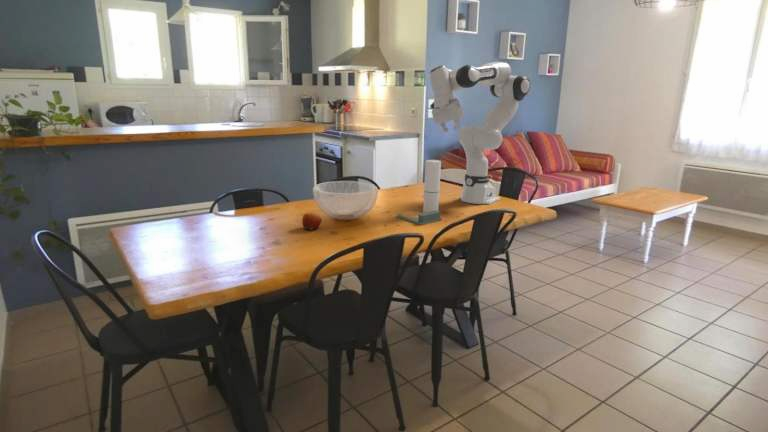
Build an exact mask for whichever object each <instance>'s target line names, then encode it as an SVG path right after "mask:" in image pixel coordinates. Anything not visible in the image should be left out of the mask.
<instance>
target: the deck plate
mask: <svg viewBox="0 0 768 432" xmlns="http://www.w3.org/2000/svg"><path fill="white" fill-rule="evenodd" d="M395 218H397V219H400V220H404V221H408V222H410V223H414V224H416V225H420V226H424V225H427V224H431V223H436V222H439V221H441V220H442V217H441V211H439V210H438V211H431V212H427V213H423V211H418V210H413V211H412V210H411V211H405V212H402V213H399V214H396V215H395Z"/></svg>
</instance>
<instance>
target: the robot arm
mask: <svg viewBox="0 0 768 432" xmlns="http://www.w3.org/2000/svg"><path fill="white" fill-rule="evenodd" d="M511 74H512V69H511V66H510V65H509V64H508V63H507V62H505V61H504V62H503V61H492V62H488V63H485V64H482V65H480V66H479V67H477V66H474V65H471V64H465V65H463V66H461V67H459V68H457V69H455V70H453V69H449V68H447V67H446V65H444V64H443V65H438V66H437V67H435V68H433V69H431V70H430V72H429V82H430V87H431V90H432V91H433V98H434V100H433V102H432V103H431V104H430V106H429V108H430V110H431V116H432V119H433V122H434V124H435V125H439V124H440V127H441V129H442V131H443V132H444V133H446V132H449V129H448V127H447V126H446V123H447V122H451V121H454V122H453V123H454V130H459V131H458V134H457V139H458V143H460V145H461V146H462V148H463V150H464V153H465V158H466V168H465V175H464V183H463V184H462V190H461V195H460V196H459V198H460V200H461V202H464V203H467V204H468V203H469V204H475V205H490V204H493V203H495V202H498V201H499V200H501V198H500V197H499V196H497V195H496V194H497V189H496V188H495V187H494V186H493V185H492V184H491V183H490V180H492V178H493V176H492V175H491V174H488V173H489V159H488V158H487V157H486V155H485V154H484V152H483V150H488V151H489V150H497V149H498V148H499V147H500V146H502V143H503V134H502V131H503V129H504V128H505V126H507V124H508V123H509V122H510V121H511V120H512V119H513V118H514V116H516V115H515V114H516V113H517V111H518V109H519V102H520V101H523V100H524V98H525V97H526V95H528V93H529V91H530V89H531V83H530V79H529V78H528V77H527V76H525V75H511ZM478 83H479V84H480V85H481V86H483V87H486V86H487V87H489V91H490V93H491V95H492V96H493V97H496V98H500V100H499V102H498V103H496V105H494V106H493V107H492V108H491V110H489V112H487V114H486V115H485V117H484V125H482V126H478V125H467V126H466V125H465V126H462V127H461V128H460V120H461V119H462V118H464V116H465V112H464V110H463V107H462V104H461V102H460V100H459V99H458V98H456V97H455V98H454V94H453V93H456V92H459V91H462V90H465V89H469V88H473V87H475V86H476V85H477V84H478Z"/></svg>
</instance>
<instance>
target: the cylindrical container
mask: <svg viewBox="0 0 768 432" xmlns="http://www.w3.org/2000/svg"><path fill="white" fill-rule="evenodd" d="M424 165H425V166H424V167H425V169H424V182H423V183H424V189H423V204H422V205H423V208H422V212H423V213H427V212H431V211H439V208H440V207H439V206H440V204H439V202H440V186H441V185H440V184H441V172H442V171H441V169H442V161H441V160H439V159H426V160H425V164H424Z"/></svg>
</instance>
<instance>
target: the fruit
mask: <svg viewBox="0 0 768 432" xmlns="http://www.w3.org/2000/svg"><path fill="white" fill-rule="evenodd" d="M301 219H302V220H301V222H302V226H303V229H304V230H310V231H311V232H312V231H313V230H317V229H319V226H320V225H321V224H322V221H323V219H322V217H321V215H319V214H316V213H315V212H306V213H304V214H303V215H302V218H301Z"/></svg>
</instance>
